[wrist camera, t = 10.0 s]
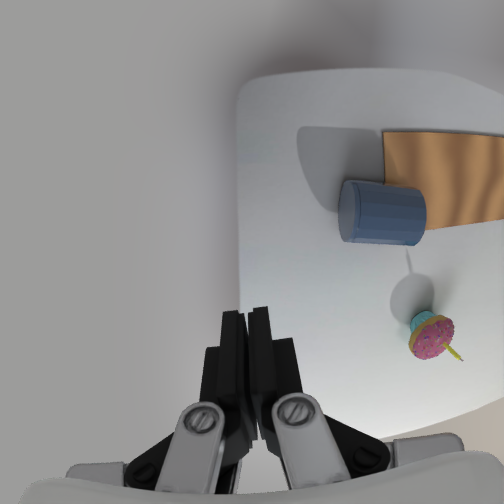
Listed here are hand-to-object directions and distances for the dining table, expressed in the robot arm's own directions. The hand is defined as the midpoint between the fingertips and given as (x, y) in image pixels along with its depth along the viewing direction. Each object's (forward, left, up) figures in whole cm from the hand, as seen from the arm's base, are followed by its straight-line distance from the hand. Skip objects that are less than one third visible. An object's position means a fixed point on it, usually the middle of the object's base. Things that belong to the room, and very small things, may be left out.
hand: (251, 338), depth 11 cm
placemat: (+28, +25, -27) cm, 47 cm away
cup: (+10, +5, -24) cm, 26 cm away
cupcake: (+38, 0, -27) cm, 47 cm away
